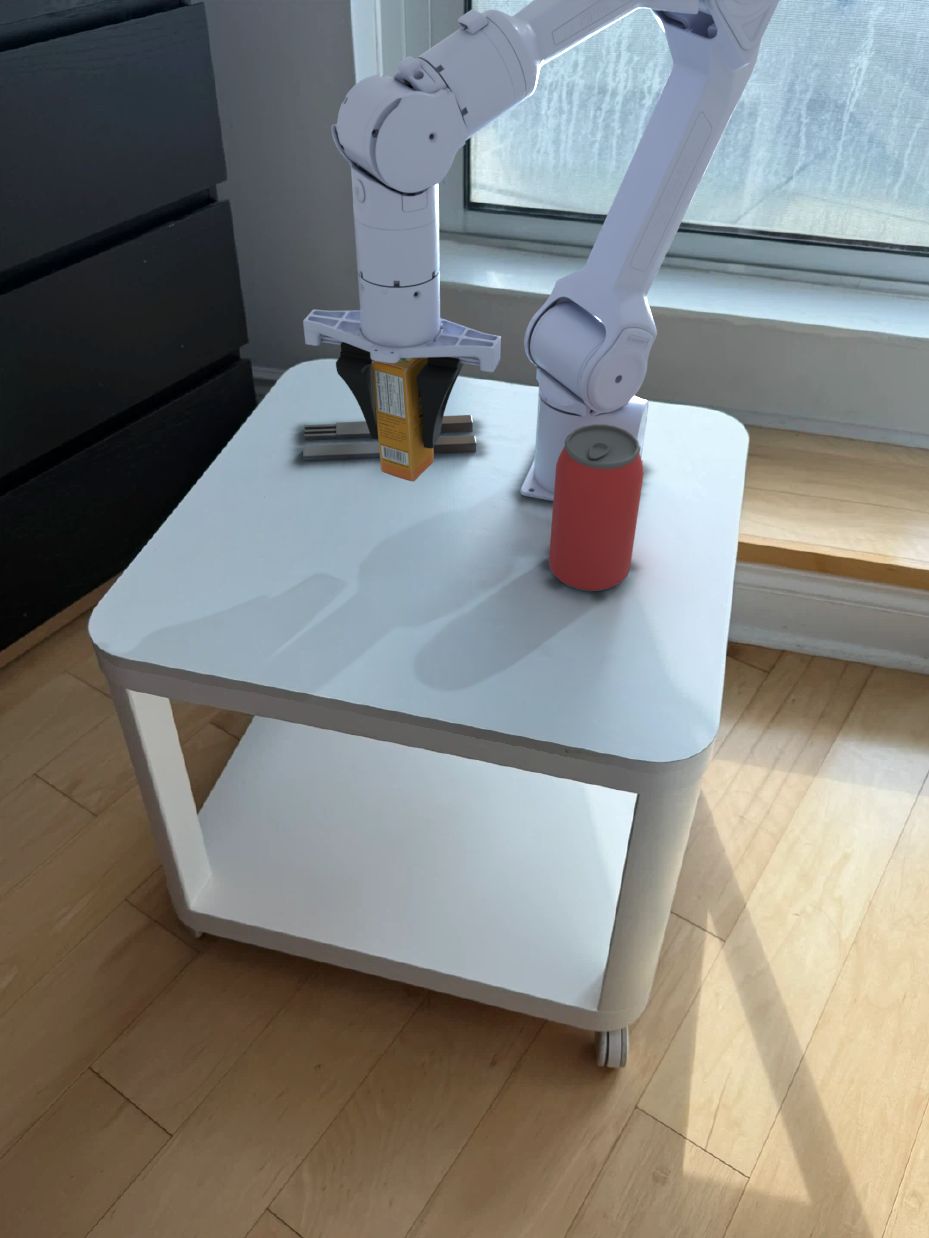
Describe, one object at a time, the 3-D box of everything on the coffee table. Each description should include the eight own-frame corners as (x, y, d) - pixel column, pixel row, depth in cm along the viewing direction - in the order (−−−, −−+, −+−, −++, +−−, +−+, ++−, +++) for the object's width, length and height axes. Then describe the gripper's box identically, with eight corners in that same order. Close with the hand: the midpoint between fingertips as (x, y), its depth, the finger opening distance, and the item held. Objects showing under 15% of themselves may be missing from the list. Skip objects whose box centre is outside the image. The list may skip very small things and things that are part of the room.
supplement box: (398, 451, 87) (395, 339, 80) (434, 464, 86) (434, 351, 79) (376, 471, 85) (370, 358, 78) (412, 485, 84) (410, 370, 77)
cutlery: (470, 421, 104) (471, 412, 103) (476, 453, 100) (476, 444, 99) (305, 428, 103) (303, 419, 102) (303, 460, 98) (302, 451, 98)
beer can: (534, 579, 86) (543, 453, 78) (567, 535, 90) (579, 411, 82) (611, 605, 84) (627, 478, 76) (641, 558, 88) (660, 433, 80)
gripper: (278, 280, 73) (298, 449, 82) (483, 308, 70) (480, 480, 79) (318, 240, 78) (332, 403, 87) (510, 264, 75) (504, 431, 84)
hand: (405, 437), depth 83 cm, fingers closed on supplement box, 4 cm apart
